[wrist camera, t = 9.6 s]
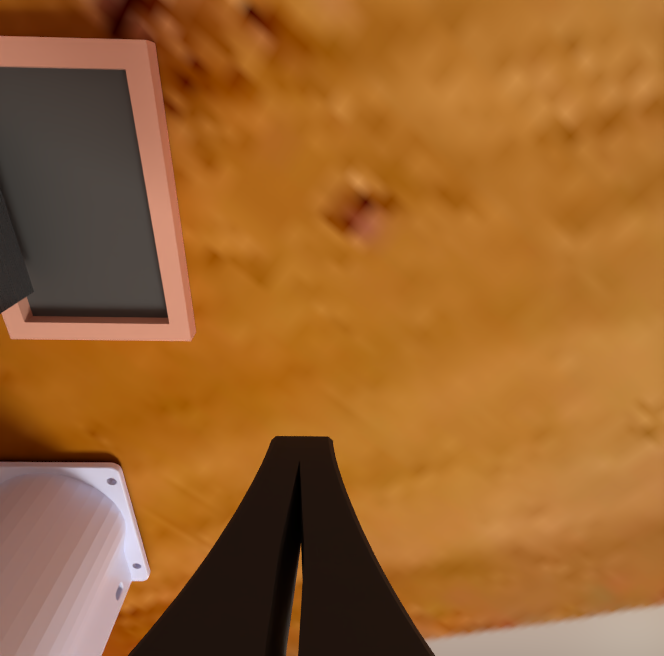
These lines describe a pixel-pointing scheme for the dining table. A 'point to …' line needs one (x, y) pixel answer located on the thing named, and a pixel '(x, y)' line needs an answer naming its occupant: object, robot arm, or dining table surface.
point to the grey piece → (11, 264)
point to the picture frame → (91, 191)
